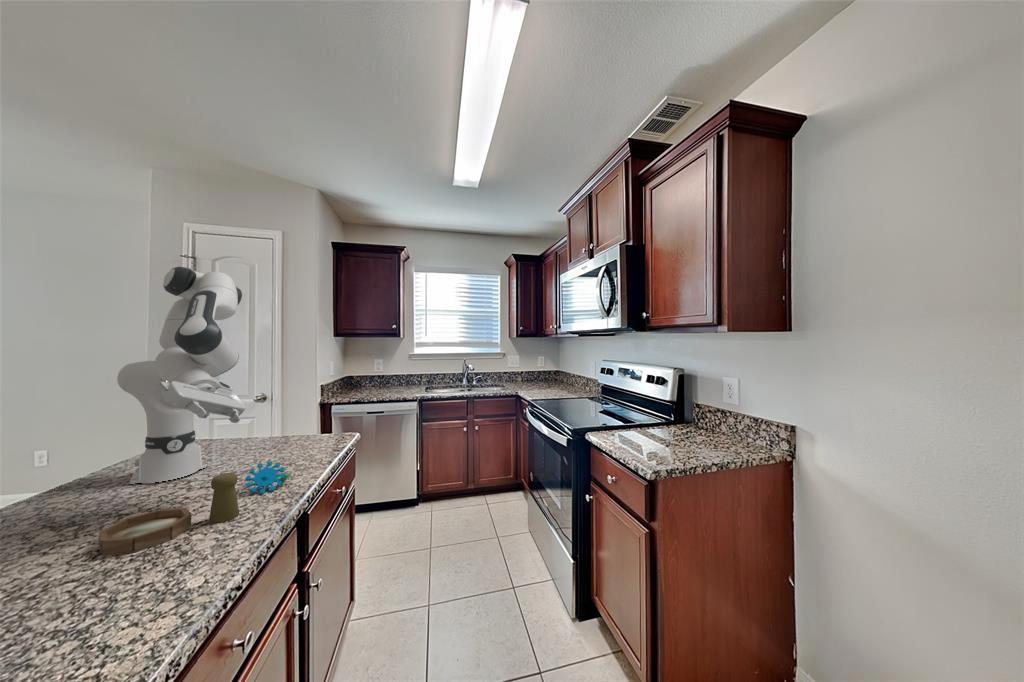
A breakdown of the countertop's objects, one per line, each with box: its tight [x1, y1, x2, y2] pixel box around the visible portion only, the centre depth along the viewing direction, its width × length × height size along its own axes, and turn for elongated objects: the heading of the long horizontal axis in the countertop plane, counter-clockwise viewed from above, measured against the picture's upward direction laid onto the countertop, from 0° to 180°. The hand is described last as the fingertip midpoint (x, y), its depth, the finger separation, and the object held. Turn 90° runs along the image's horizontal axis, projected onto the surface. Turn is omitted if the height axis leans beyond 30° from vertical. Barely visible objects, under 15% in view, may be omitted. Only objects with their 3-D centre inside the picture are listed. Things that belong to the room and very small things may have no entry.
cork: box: [208, 472, 240, 525], centre depth 87 cm, size 6×6×11 cm
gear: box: [244, 461, 291, 495], centre depth 105 cm, size 11×6×10 cm
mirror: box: [98, 507, 192, 556], centre depth 79 cm, size 14×14×3 cm
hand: (221, 418), depth 92 cm, fingers open, 8 cm apart
